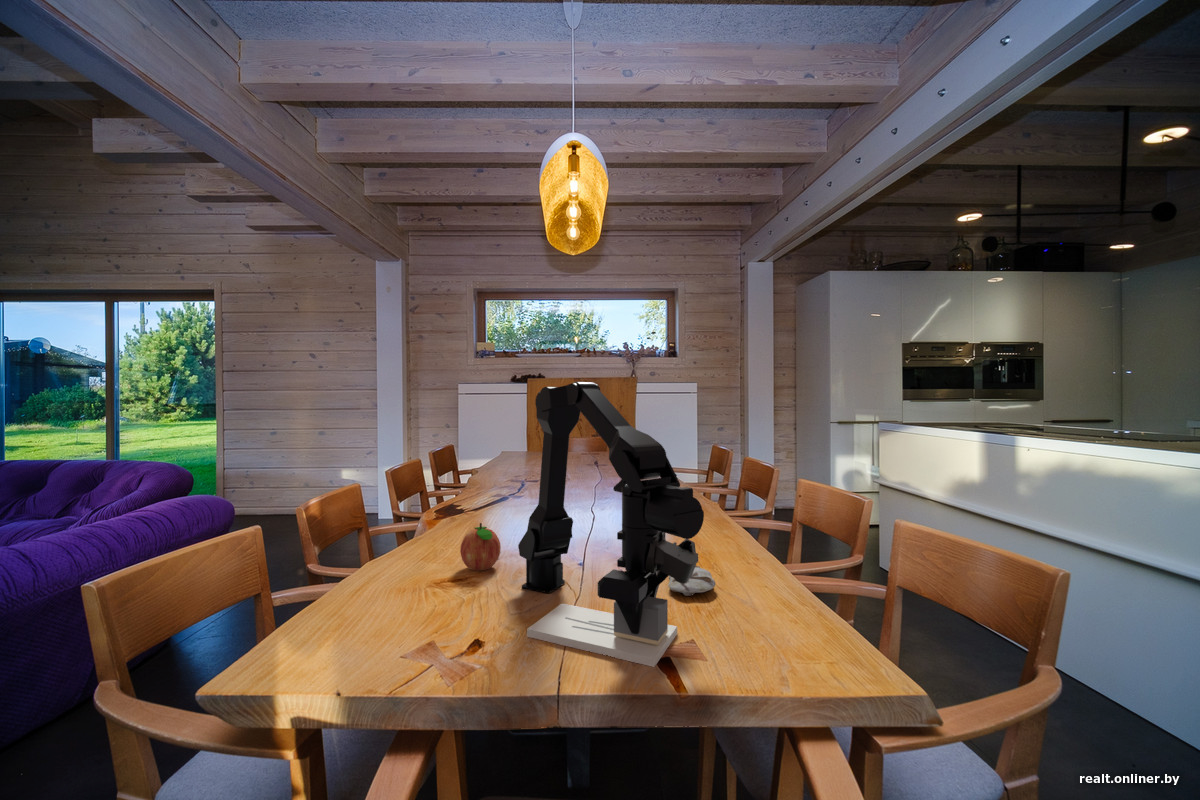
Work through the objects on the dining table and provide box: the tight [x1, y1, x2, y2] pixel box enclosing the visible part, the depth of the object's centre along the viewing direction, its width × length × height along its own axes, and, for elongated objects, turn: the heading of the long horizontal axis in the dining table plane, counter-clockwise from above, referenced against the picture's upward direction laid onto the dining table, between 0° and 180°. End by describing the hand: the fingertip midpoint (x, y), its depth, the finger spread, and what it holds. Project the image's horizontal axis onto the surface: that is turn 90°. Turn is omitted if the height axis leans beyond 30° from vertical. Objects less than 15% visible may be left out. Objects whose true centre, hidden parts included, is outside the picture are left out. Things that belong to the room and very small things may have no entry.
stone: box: [667, 565, 716, 597], centre depth 100 cm, size 12×9×3 cm
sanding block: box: [613, 597, 669, 645], centre depth 77 cm, size 7×4×5 cm, turn 65°
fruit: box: [459, 522, 501, 571], centre depth 111 cm, size 9×10×10 cm
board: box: [526, 603, 678, 668], centre depth 80 cm, size 21×11×1 cm, turn 65°
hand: (640, 626), depth 77 cm, fingers closed on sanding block, 4 cm apart
